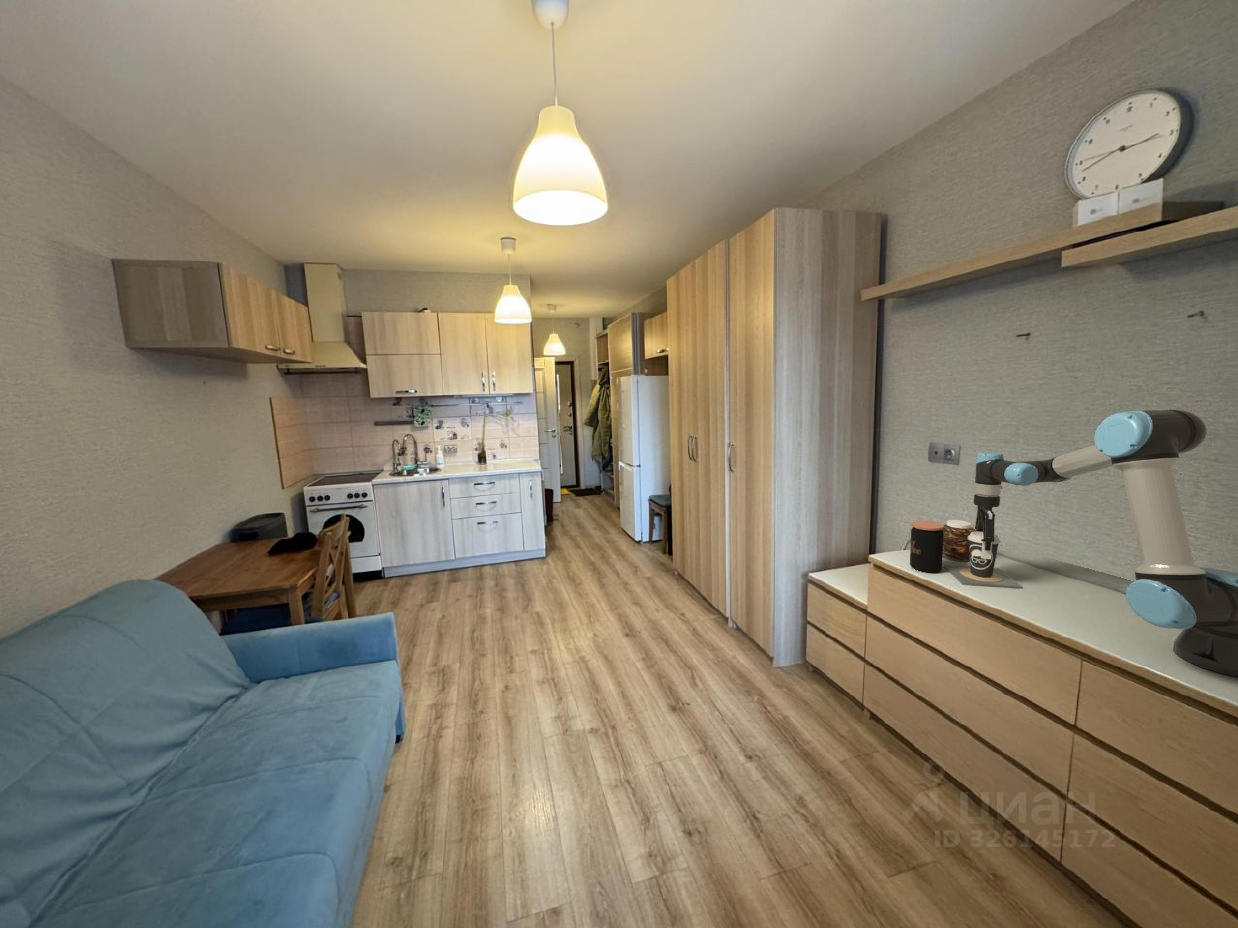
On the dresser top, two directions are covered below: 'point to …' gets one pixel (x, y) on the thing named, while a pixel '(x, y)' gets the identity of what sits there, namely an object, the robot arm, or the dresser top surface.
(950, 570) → the trivet
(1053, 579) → the dresser top surface
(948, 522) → the jar
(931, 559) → the coffee jar
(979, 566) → the coffee cup
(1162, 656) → the dresser top surface
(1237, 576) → the robot arm
